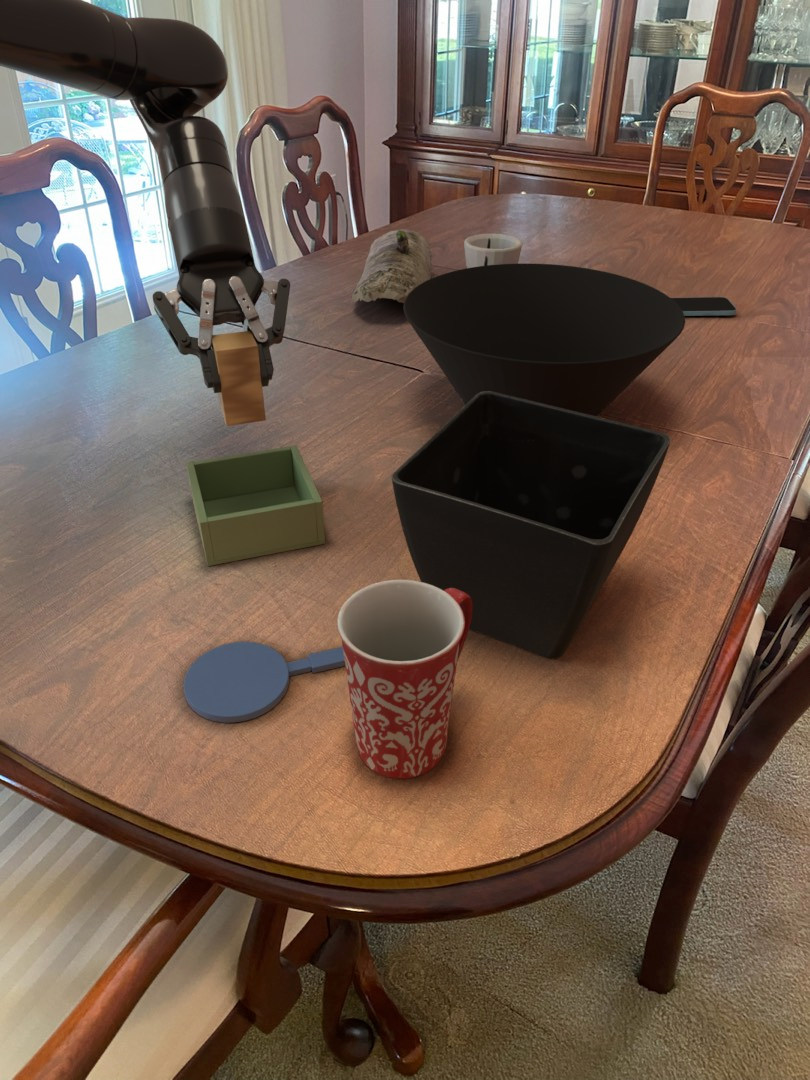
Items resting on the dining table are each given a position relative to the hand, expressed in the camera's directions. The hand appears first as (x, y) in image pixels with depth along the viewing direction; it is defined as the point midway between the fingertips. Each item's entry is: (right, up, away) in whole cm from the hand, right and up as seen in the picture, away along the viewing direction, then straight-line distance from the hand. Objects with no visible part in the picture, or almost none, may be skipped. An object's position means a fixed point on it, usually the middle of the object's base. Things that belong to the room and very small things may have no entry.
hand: (241, 386), depth 79 cm
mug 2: (+32, +31, +74) cm, 86 cm away
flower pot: (+27, -21, +1) cm, 35 cm away
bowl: (+33, +3, +34) cm, 48 cm away
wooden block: (-1, -2, +4) cm, 4 cm away
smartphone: (+67, +26, +66) cm, 97 cm away
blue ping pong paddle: (+6, -27, -7) cm, 28 cm away
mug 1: (+17, -31, -12) cm, 37 cm away
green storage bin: (-1, -13, +12) cm, 18 cm away
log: (+14, +30, +71) cm, 79 cm away
